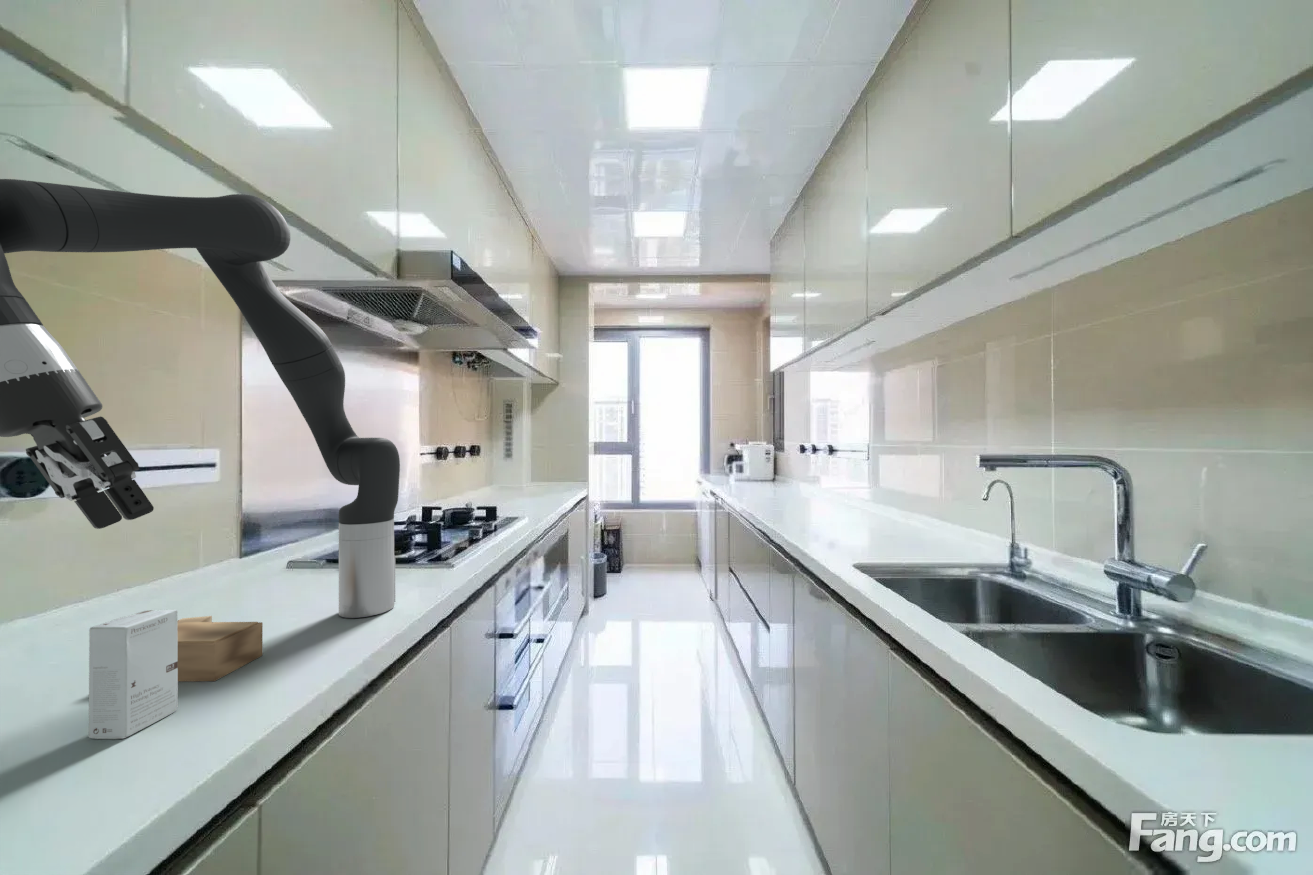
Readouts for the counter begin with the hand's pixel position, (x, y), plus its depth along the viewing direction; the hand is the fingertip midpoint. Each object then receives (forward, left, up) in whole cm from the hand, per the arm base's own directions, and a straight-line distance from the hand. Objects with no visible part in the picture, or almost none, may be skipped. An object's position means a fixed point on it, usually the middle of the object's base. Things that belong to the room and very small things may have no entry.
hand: (125, 520), depth 53 cm
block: (-26, -18, -24) cm, 39 cm away
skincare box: (-4, -3, -24) cm, 24 cm away
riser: (-18, -9, -24) cm, 31 cm away
